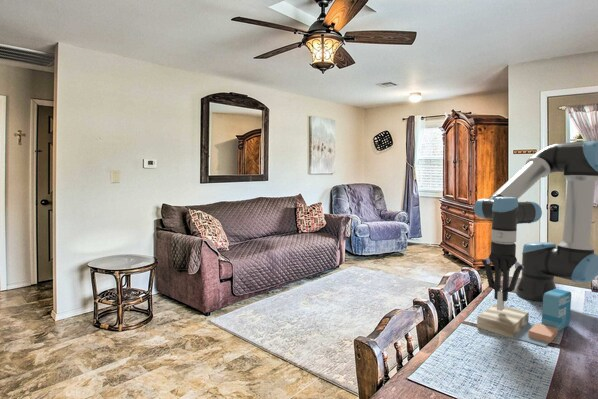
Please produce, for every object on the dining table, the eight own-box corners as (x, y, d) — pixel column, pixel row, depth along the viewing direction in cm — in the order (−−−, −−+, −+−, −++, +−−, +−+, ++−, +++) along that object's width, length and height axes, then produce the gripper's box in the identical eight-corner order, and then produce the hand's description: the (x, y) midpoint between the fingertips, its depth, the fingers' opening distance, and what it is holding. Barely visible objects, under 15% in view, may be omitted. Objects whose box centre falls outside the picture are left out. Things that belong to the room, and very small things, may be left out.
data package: (556, 332, 122) (558, 296, 122) (540, 328, 126) (543, 293, 125) (569, 325, 129) (571, 290, 129) (554, 320, 133) (556, 287, 132)
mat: (528, 323, 131) (528, 322, 131) (558, 330, 125) (559, 330, 125) (512, 337, 119) (512, 336, 119) (545, 347, 113) (545, 346, 113)
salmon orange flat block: (557, 328, 121) (557, 334, 121) (536, 322, 125) (536, 328, 126) (550, 336, 115) (550, 343, 115) (528, 330, 119) (528, 336, 119)
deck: (494, 314, 139) (495, 303, 139) (528, 323, 131) (528, 311, 131) (477, 327, 127) (477, 316, 127) (512, 337, 119) (513, 325, 119)
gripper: (479, 241, 130) (476, 307, 131) (521, 246, 120) (518, 317, 122) (486, 238, 135) (484, 302, 137) (528, 243, 126) (524, 311, 128)
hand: (500, 309), depth 129 cm, fingers closed
